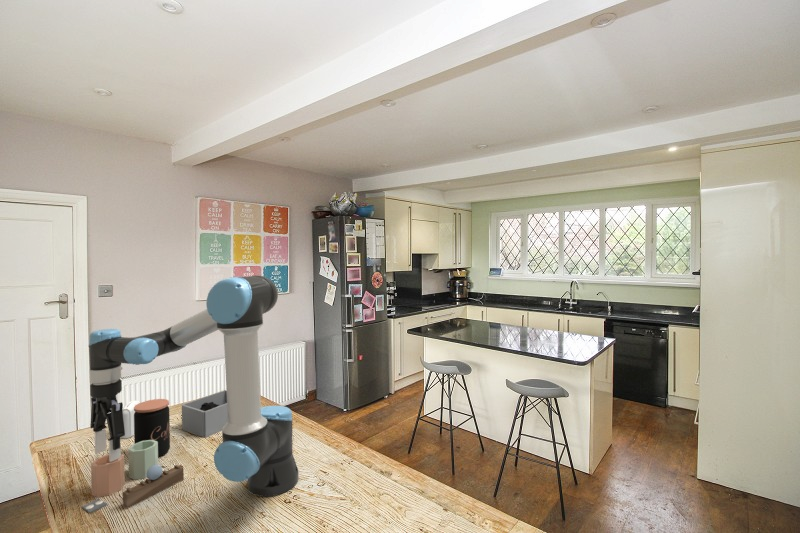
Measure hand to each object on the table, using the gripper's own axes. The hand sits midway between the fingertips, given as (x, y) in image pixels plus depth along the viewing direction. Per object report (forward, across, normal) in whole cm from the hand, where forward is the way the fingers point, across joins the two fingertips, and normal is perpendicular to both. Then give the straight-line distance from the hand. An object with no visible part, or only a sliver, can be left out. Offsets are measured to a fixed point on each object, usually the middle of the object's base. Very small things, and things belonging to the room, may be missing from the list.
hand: (107, 455), depth 116 cm
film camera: (+11, +13, -43) cm, 47 cm away
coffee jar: (+10, +10, -18) cm, 23 cm away
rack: (+10, -14, -6) cm, 18 cm away
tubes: (+10, -2, -3) cm, 11 cm away
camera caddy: (+10, +13, -45) cm, 48 cm away
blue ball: (+6, -14, -6) cm, 16 cm away
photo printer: (+11, +35, -23) cm, 43 cm away
